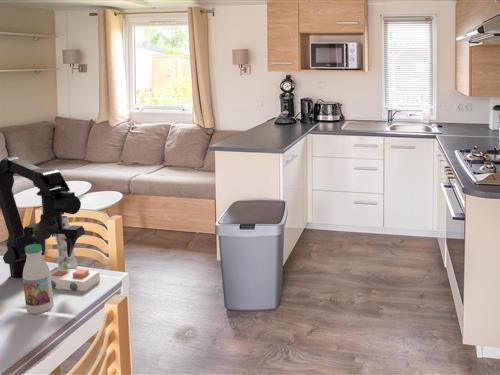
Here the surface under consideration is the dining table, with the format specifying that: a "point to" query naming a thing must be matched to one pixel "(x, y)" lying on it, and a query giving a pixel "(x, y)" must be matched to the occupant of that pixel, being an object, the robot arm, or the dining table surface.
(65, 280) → the switch panel
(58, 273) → the inner button
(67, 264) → the plastic bottle
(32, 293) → the milk bottle
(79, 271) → the outer button
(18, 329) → the dining table surface
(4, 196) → the robot arm
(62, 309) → the dining table surface
